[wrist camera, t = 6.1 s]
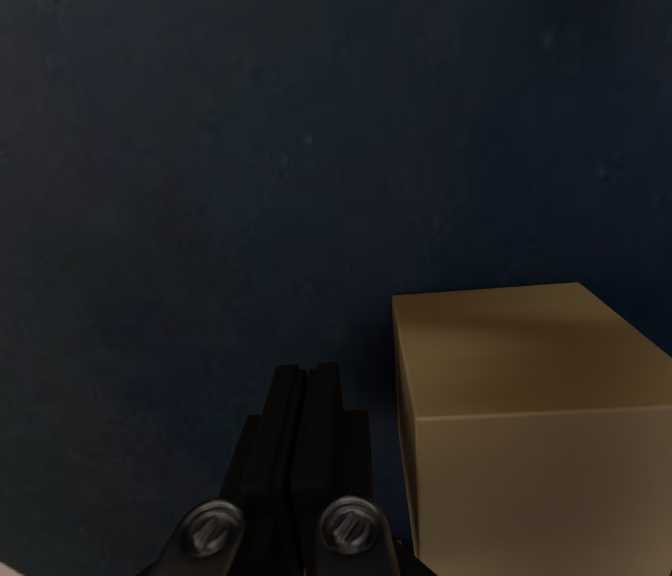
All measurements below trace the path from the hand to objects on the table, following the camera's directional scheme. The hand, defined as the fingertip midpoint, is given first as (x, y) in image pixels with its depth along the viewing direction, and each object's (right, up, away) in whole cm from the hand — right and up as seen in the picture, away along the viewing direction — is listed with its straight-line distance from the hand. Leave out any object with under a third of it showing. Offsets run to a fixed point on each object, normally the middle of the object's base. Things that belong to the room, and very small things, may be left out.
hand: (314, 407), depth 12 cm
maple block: (+5, +1, +1) cm, 5 cm away
